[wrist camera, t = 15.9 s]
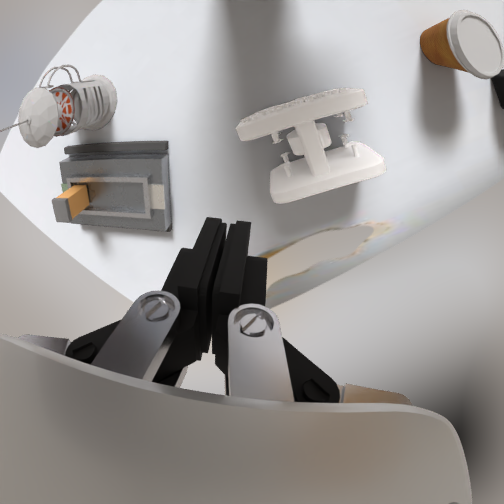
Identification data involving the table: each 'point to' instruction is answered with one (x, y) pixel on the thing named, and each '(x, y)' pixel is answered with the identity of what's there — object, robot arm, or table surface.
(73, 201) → the lever
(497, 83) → the battery
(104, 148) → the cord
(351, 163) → the cable organizer
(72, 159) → the panel
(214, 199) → the table surface
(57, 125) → the french press
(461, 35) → the disposable coffee cup
